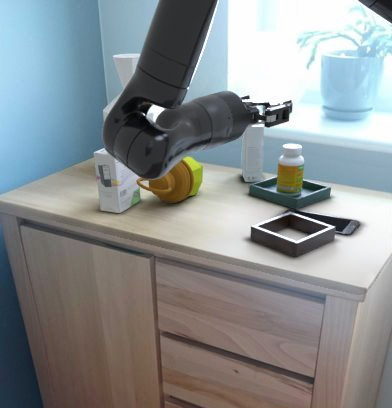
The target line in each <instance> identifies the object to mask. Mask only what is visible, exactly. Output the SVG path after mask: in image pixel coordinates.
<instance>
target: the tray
mask: <svg viewBox="0 0 392 408" xmlns="http://www.w3.org/2000/svg"><path fill="white" fill-rule="evenodd" d="M276 187H277V175H275V176H273V177H269V178H265V179H263V180H262V181H259V182H252V183H250V184H249V186H248V195H250V196H253V197H257V198H260V199H263V200H265V201H268V202H271V203H275V204H278V205H281V206H284V207H287V208H289V209H294V210H300V209H301V208H304V207H306V206H310V205H312V204H314V203H317V202H320V201H323V200H325V199H327V198H330V197H331V192H332V186H328V185H325V184H322V183H318V182H314V181H311V180H308V179H304V178H303V183H302V192H301V194H300V195H297V196H288V195H285V194H281V193H278V192H276Z"/></svg>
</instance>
